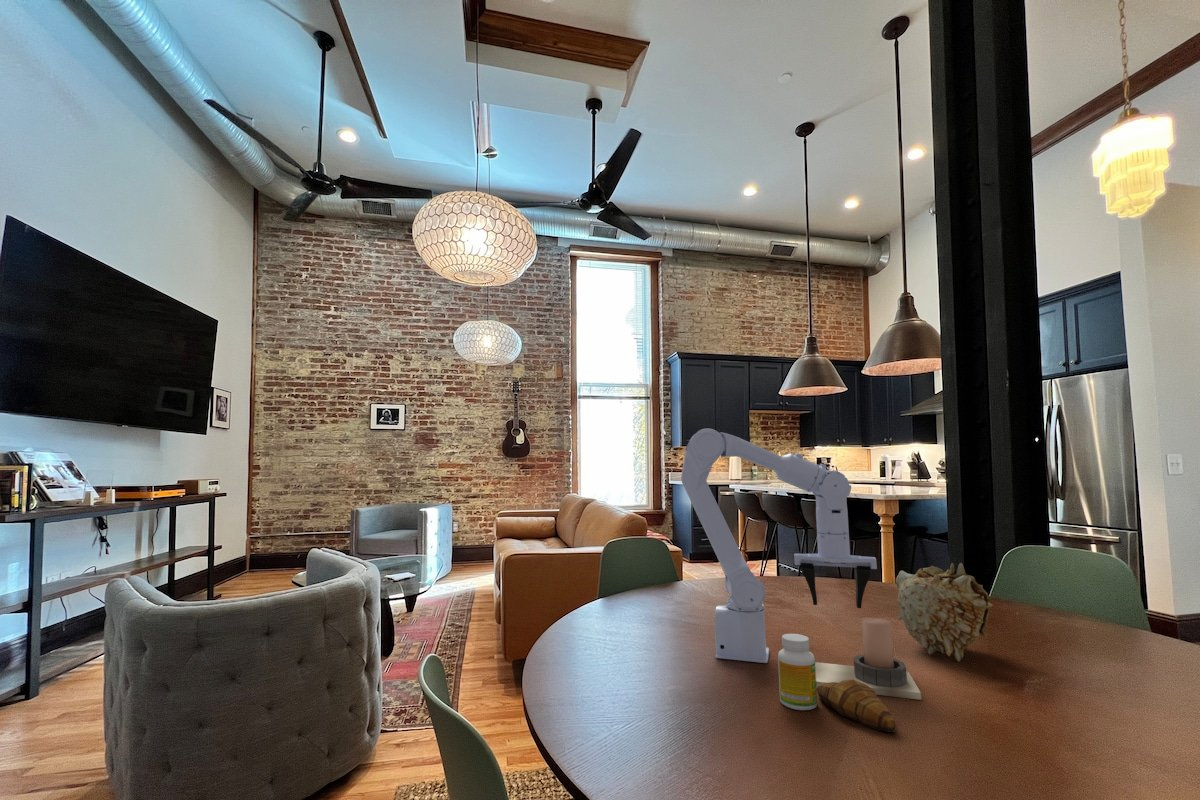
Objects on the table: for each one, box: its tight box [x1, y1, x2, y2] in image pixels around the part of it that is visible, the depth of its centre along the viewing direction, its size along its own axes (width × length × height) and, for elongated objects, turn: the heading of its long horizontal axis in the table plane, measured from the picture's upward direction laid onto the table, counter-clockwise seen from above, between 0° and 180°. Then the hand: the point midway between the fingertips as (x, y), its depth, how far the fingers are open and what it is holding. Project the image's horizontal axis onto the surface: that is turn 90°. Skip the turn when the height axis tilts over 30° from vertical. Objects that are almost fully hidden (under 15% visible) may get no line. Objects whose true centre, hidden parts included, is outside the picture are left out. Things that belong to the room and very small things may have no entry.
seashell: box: [895, 562, 994, 663], centre depth 108 cm, size 18×18×15 cm
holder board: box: [815, 654, 922, 701], centre depth 93 cm, size 20×10×4 cm, turn 71°
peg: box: [861, 617, 894, 669], centre depth 92 cm, size 4×4×9 cm
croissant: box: [816, 680, 897, 733], centre depth 81 cm, size 14×7×5 cm, turn 21°
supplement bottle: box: [777, 633, 818, 711], centre depth 84 cm, size 5×5×10 cm
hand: (836, 605), depth 105 cm, fingers open, 7 cm apart
